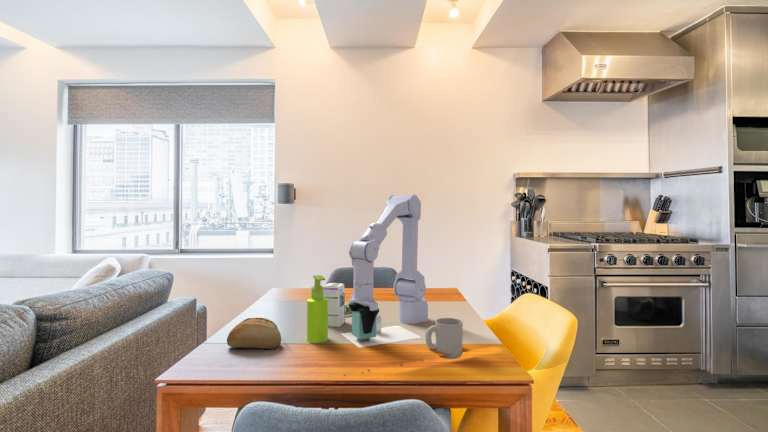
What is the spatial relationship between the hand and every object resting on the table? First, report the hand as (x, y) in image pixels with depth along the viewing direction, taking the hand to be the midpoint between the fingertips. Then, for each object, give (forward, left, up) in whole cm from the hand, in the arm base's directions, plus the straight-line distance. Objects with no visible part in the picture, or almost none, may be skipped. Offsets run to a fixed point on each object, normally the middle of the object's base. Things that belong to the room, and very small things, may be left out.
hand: (363, 330), depth 116 cm
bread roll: (+28, -13, -5) cm, 31 cm away
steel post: (-7, -6, -3) cm, 9 cm away
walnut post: (0, 0, -3) cm, 3 cm away
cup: (-17, +16, -5) cm, 23 cm away
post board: (-7, -2, -4) cm, 8 cm away
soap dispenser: (+11, -6, -5) cm, 14 cm away
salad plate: (-9, -38, -5) cm, 39 cm away
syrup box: (+1, -20, -5) cm, 21 cm away
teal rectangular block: (0, 0, -2) cm, 2 cm away
